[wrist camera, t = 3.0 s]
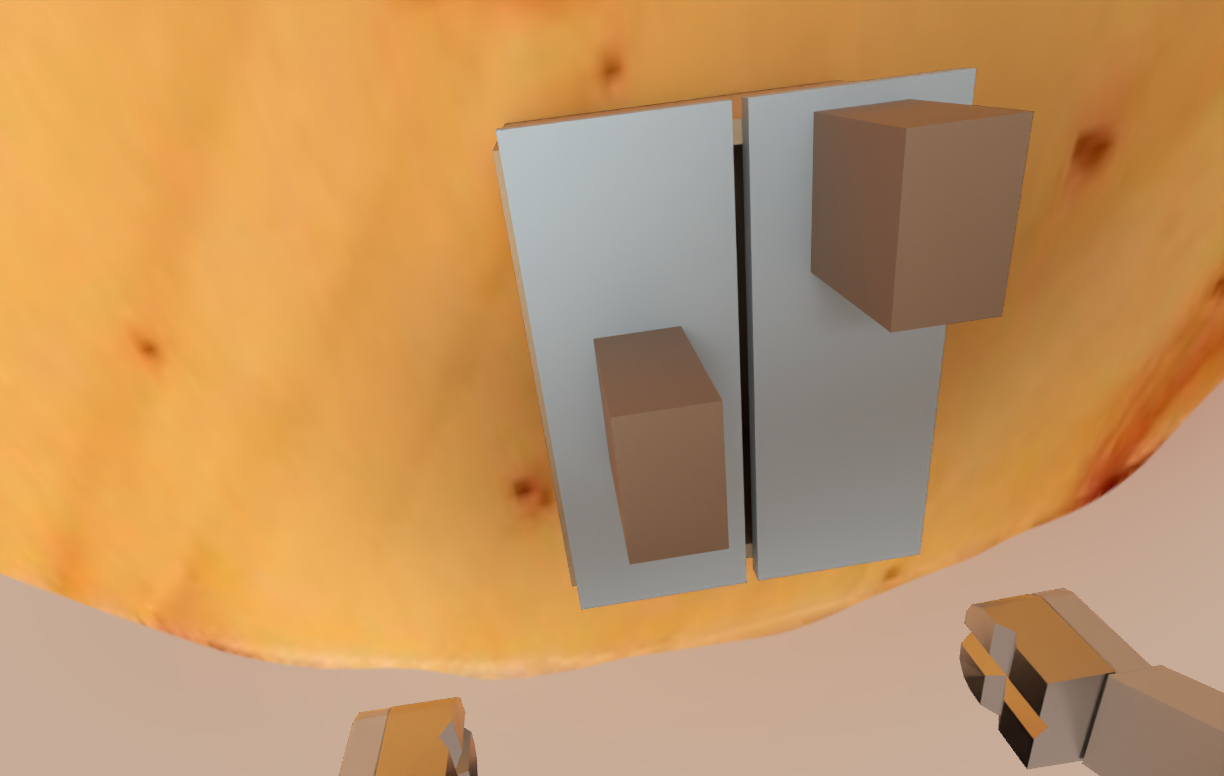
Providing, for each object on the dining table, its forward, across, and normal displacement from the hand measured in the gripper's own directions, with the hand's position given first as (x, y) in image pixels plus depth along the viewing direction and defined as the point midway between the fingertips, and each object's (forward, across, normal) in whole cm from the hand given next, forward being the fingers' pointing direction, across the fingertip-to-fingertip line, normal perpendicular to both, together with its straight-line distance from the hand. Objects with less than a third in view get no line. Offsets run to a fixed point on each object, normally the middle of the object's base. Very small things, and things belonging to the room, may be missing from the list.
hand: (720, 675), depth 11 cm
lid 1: (+10, 0, 0) cm, 10 cm away
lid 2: (+10, -6, 0) cm, 12 cm away
